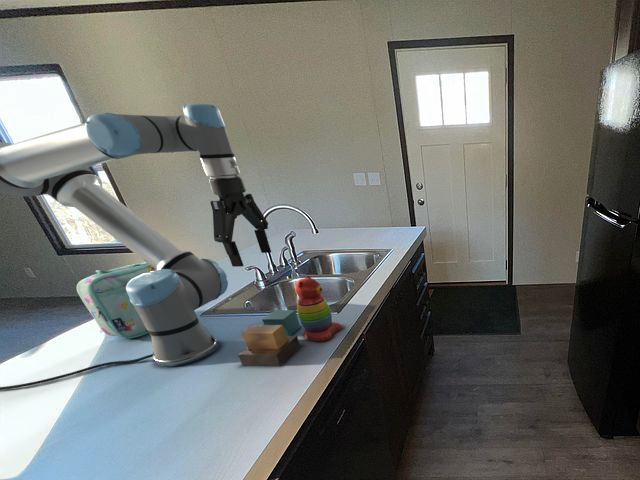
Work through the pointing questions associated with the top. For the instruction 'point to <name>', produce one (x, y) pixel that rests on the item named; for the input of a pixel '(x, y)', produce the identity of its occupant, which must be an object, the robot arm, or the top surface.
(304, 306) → the stacking bear
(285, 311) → the teal cube
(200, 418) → the top surface
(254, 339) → the oak brick
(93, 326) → the top surface
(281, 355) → the walnut base
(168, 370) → the top surface
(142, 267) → the lunch box
